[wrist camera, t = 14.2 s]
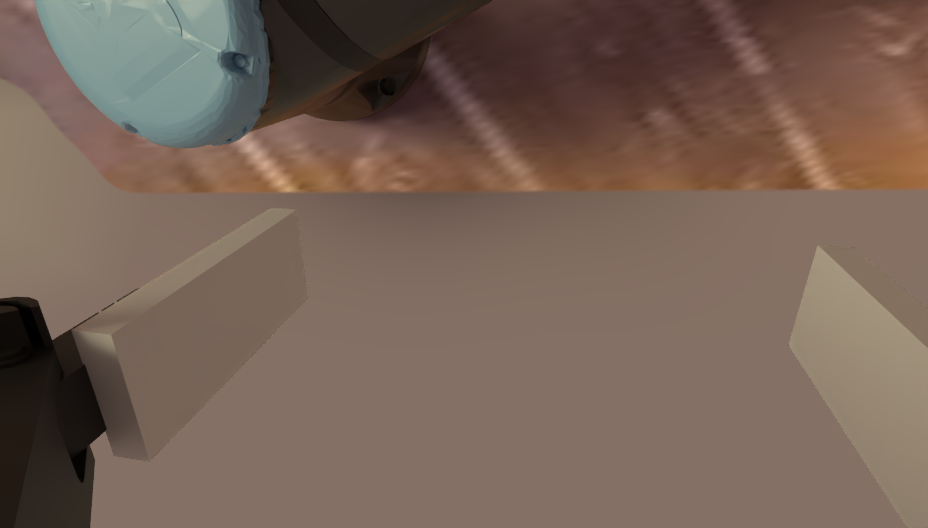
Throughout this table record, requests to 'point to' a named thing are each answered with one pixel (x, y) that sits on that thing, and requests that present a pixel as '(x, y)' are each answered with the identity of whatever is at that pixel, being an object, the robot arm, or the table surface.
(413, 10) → the robot arm
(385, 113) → the table surface
